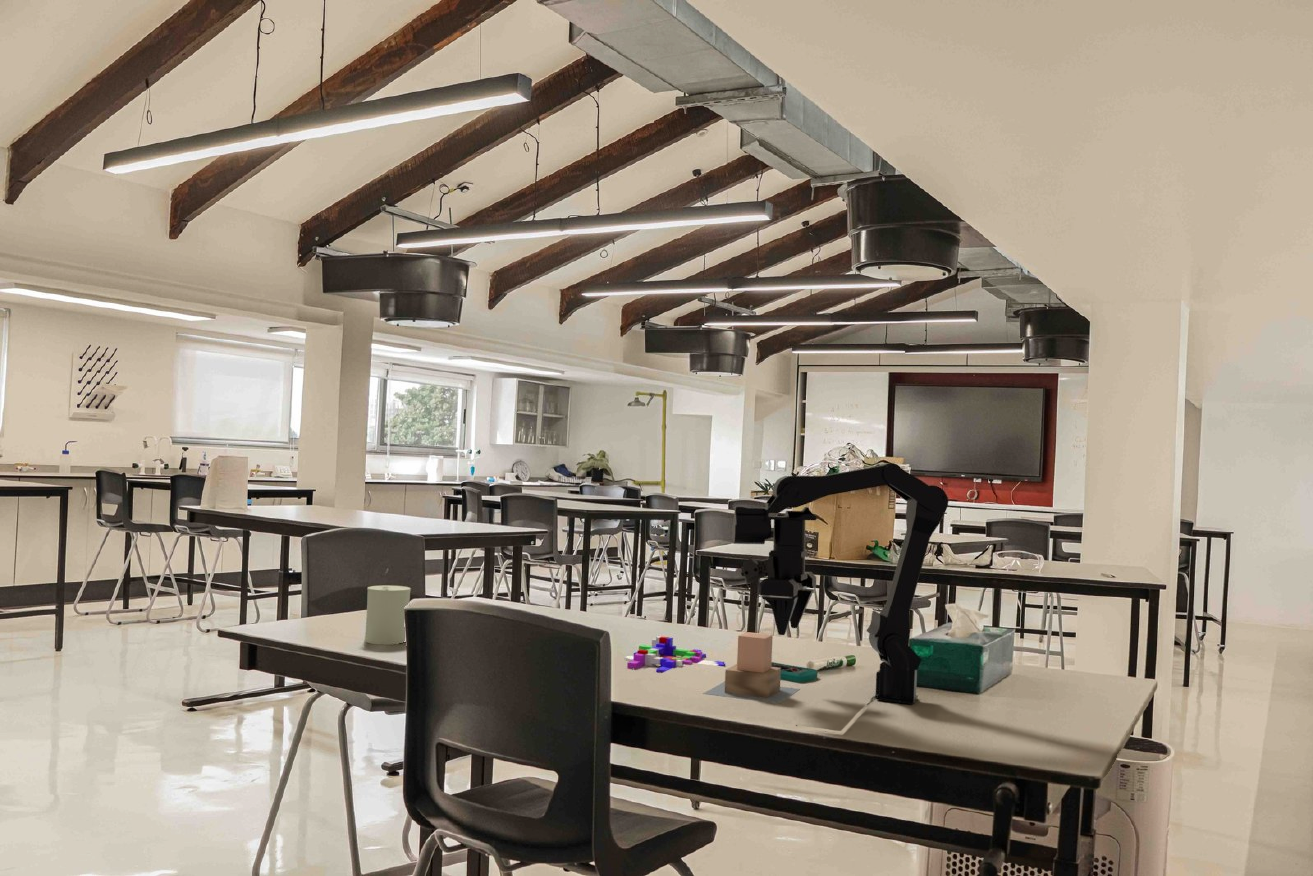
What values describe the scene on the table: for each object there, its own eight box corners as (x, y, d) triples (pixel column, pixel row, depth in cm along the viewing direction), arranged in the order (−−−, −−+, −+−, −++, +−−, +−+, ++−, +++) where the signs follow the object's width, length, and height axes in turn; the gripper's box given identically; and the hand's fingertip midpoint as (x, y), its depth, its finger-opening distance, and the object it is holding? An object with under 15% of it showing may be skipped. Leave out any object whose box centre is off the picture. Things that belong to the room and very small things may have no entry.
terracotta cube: (771, 668, 187) (772, 635, 187) (763, 672, 183) (765, 638, 183) (744, 665, 189) (746, 632, 189) (736, 669, 184) (738, 635, 185)
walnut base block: (779, 690, 188) (780, 667, 188) (768, 698, 180) (769, 675, 181) (737, 684, 191) (738, 663, 191) (724, 692, 183) (725, 669, 184)
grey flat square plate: (799, 692, 189) (800, 689, 189) (780, 707, 176) (780, 703, 176) (727, 683, 195) (727, 680, 195) (702, 697, 182) (703, 693, 182)
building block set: (701, 680, 199) (702, 657, 199) (605, 668, 207) (606, 646, 207) (741, 661, 222) (742, 640, 222) (653, 650, 230) (654, 630, 230)
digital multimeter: (801, 689, 195) (802, 673, 195) (735, 676, 204) (736, 661, 204) (820, 684, 201) (821, 668, 201) (755, 672, 210) (755, 657, 210)
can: (358, 643, 219) (361, 587, 219) (371, 636, 228) (374, 582, 228) (401, 646, 218) (404, 589, 219) (413, 639, 228) (416, 584, 228)
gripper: (760, 540, 199) (759, 621, 198) (731, 546, 182) (729, 635, 181) (817, 542, 195) (816, 625, 194) (793, 548, 178) (792, 640, 177)
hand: (788, 631), depth 187 cm, fingers open, 9 cm apart
